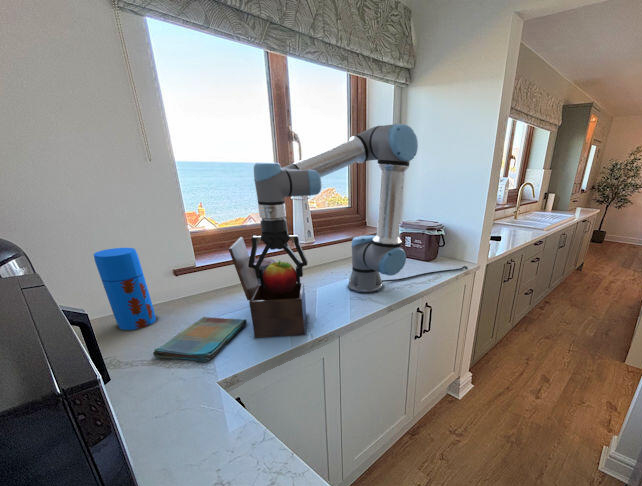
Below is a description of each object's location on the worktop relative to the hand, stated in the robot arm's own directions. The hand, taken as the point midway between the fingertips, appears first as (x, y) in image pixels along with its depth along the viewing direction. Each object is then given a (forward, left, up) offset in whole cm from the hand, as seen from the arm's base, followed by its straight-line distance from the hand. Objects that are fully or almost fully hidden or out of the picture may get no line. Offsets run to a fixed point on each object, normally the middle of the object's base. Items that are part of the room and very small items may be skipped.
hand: (281, 286), depth 106 cm
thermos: (+50, -9, -15) cm, 53 cm away
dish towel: (+24, +6, -15) cm, 29 cm away
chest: (+1, 0, -14) cm, 14 cm away
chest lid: (+10, 0, +7) cm, 12 cm away
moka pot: (+10, -20, -15) cm, 27 cm away
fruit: (0, 0, -2) cm, 2 cm away
